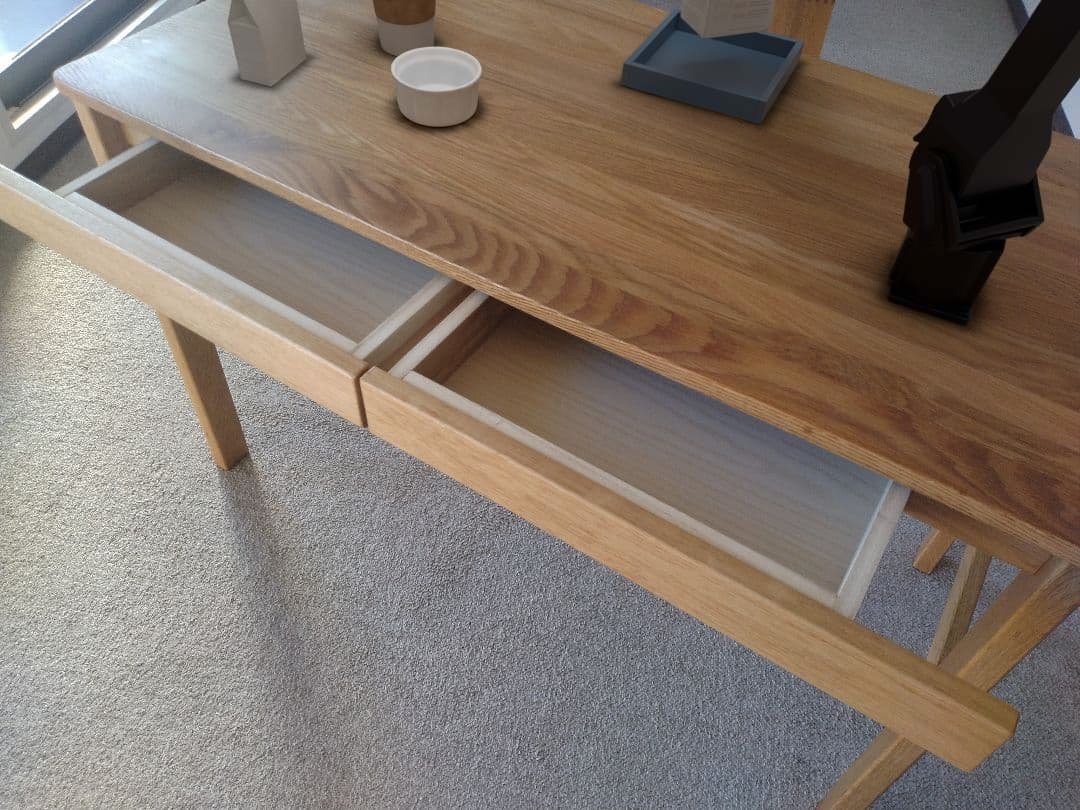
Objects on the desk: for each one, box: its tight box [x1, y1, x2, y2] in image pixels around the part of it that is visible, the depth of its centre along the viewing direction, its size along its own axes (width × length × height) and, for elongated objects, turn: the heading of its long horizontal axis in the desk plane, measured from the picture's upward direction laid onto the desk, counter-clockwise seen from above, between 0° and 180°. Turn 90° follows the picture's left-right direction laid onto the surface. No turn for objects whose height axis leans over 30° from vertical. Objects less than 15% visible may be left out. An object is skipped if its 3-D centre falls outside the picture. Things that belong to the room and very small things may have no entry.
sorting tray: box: [620, 7, 806, 125], centre depth 92 cm, size 16×16×2 cm
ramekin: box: [390, 46, 483, 128], centre depth 84 cm, size 9×9×4 cm
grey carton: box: [227, 0, 307, 87], centre depth 85 cm, size 4×7×10 cm, turn 159°
